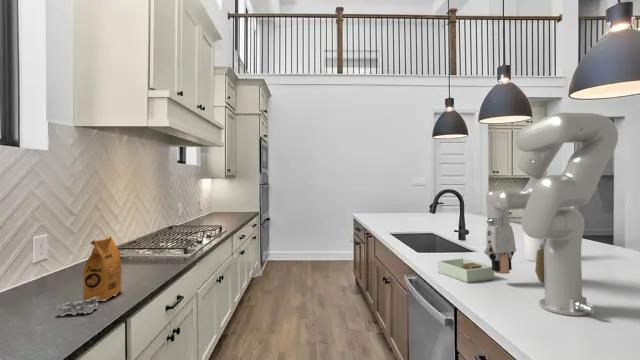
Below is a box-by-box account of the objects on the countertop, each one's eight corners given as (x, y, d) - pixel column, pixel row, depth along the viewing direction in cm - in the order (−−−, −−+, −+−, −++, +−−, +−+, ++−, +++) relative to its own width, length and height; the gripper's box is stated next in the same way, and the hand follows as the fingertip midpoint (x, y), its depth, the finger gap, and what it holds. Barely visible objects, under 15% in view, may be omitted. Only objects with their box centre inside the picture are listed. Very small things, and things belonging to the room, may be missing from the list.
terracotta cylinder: (512, 272, 129) (511, 254, 130) (502, 274, 128) (501, 255, 128) (501, 270, 134) (500, 252, 135) (491, 271, 133) (490, 253, 133)
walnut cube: (481, 277, 139) (481, 265, 139) (471, 278, 138) (471, 266, 138) (472, 274, 144) (472, 262, 144) (462, 275, 142) (462, 263, 142)
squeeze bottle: (552, 278, 138) (551, 233, 138) (564, 284, 130) (563, 237, 130) (531, 278, 138) (530, 233, 138) (542, 284, 130) (541, 237, 130)
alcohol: (523, 257, 174) (521, 198, 174) (543, 259, 171) (542, 198, 171) (526, 261, 166) (524, 199, 166) (547, 263, 162) (546, 199, 163)
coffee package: (77, 303, 121) (76, 241, 121) (100, 292, 134) (99, 235, 134) (105, 303, 121) (104, 240, 121) (126, 291, 134) (124, 235, 134)
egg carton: (101, 307, 117) (101, 295, 117) (89, 316, 110) (89, 303, 110) (68, 309, 116) (68, 297, 116) (53, 318, 109) (53, 305, 109)
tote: (494, 279, 138) (494, 266, 138) (467, 283, 134) (466, 270, 134) (463, 269, 155) (462, 258, 155) (438, 272, 151) (437, 261, 151)
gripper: (488, 224, 126) (492, 274, 125) (523, 221, 132) (527, 269, 130) (473, 223, 133) (476, 270, 132) (507, 221, 139) (510, 266, 137)
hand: (501, 269), depth 131 cm, fingers closed on terracotta cylinder, 5 cm apart
